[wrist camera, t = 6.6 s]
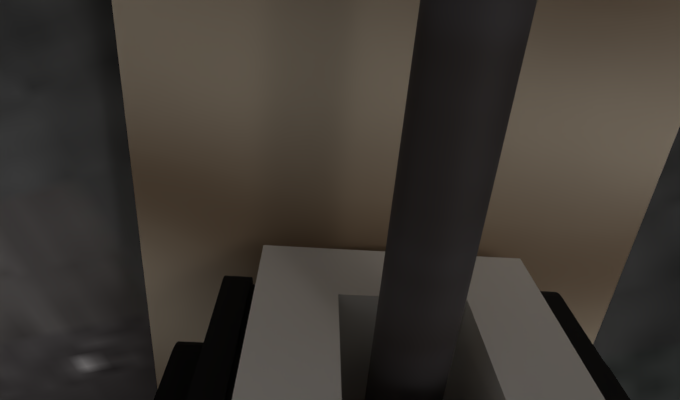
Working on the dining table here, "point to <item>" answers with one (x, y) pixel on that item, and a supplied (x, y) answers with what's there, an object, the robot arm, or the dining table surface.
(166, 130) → the small bench vise
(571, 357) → the sleeve
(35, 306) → the dining table surface
